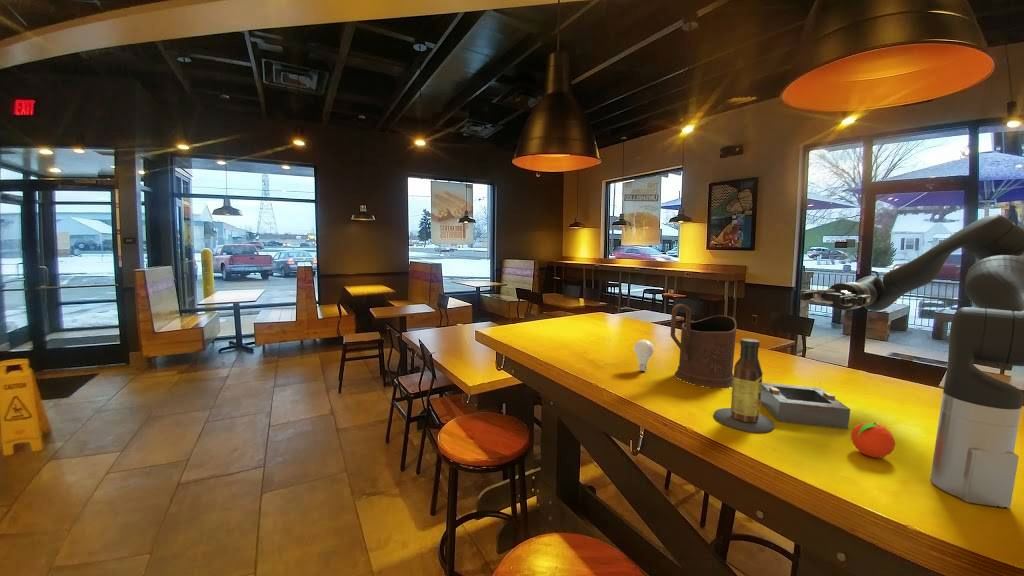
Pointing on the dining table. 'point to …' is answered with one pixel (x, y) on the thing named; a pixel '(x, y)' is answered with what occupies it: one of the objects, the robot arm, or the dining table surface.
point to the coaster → (757, 427)
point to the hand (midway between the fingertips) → (820, 298)
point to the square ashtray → (804, 405)
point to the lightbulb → (643, 353)
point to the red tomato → (873, 439)
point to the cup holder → (705, 350)
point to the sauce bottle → (747, 383)
